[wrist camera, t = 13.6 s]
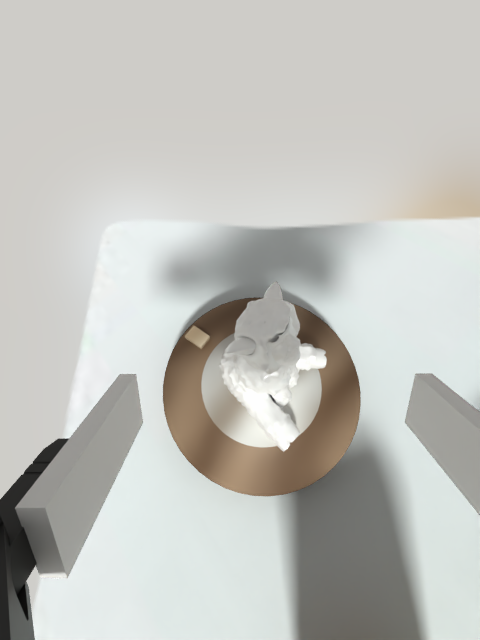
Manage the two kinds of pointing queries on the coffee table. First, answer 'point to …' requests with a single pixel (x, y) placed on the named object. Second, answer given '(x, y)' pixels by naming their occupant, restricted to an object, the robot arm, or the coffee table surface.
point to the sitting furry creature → (268, 363)
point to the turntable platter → (240, 427)
